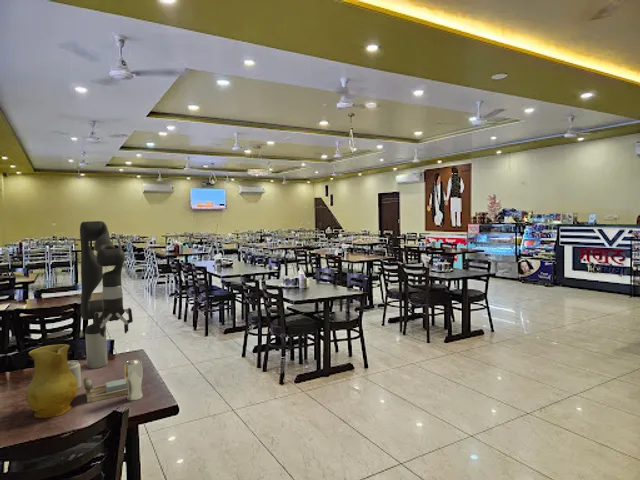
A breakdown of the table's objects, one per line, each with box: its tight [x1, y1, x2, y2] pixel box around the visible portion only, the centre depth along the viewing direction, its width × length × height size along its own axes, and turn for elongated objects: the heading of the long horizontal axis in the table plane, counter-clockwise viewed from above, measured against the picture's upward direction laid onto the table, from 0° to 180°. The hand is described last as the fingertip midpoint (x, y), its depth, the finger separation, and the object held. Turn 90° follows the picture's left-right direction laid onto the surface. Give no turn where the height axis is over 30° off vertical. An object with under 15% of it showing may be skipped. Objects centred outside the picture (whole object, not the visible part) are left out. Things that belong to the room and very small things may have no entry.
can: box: [67, 359, 82, 390], centre depth 185 cm, size 8×8×12 cm
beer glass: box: [123, 359, 144, 402], centre depth 176 cm, size 7×7×15 cm
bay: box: [83, 376, 128, 404], centre depth 180 cm, size 11×17×7 cm, turn 122°
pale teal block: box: [105, 378, 127, 393], centre depth 183 cm, size 6×8×4 cm
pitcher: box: [25, 343, 79, 419], centre depth 166 cm, size 17×19×25 cm
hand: (114, 334), depth 178 cm, fingers open, 8 cm apart
